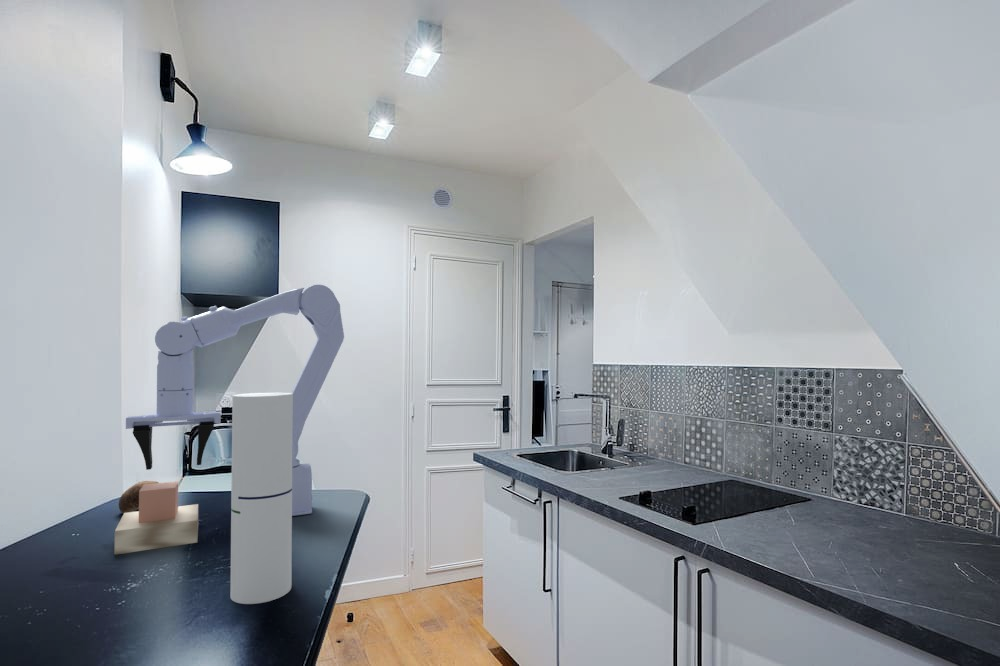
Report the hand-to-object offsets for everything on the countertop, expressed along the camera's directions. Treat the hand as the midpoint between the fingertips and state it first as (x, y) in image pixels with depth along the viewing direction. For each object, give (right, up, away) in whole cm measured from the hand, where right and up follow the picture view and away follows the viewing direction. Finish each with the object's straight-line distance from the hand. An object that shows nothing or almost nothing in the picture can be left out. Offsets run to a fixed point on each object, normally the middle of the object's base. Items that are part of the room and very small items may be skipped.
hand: (174, 466), depth 98 cm
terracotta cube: (+2, -7, -7) cm, 10 cm away
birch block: (+2, -11, -7) cm, 13 cm away
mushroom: (-12, -11, +8) cm, 18 cm away
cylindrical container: (+28, -9, -28) cm, 41 cm away
